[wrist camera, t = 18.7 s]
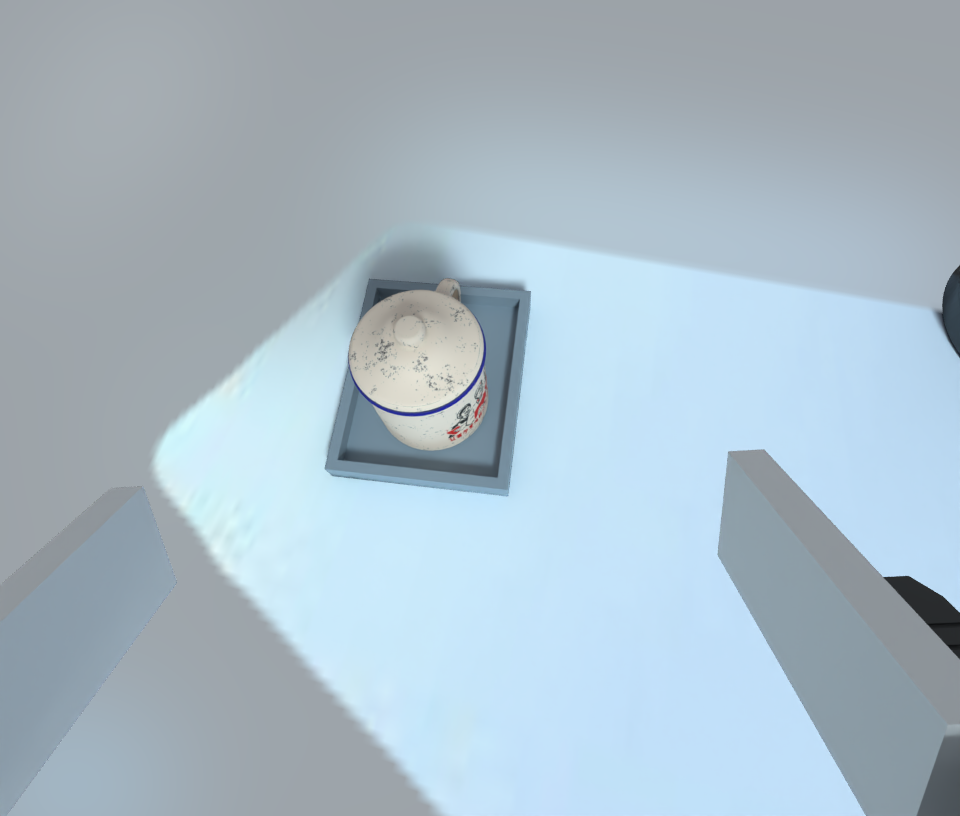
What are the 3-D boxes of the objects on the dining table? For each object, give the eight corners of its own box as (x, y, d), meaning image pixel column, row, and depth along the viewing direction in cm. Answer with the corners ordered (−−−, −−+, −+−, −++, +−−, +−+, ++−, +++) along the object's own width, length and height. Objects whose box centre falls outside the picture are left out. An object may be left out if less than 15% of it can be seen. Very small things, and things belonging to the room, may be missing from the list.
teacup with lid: (474, 467, 44) (459, 412, 33) (361, 439, 45) (311, 377, 34) (513, 330, 48) (511, 241, 37) (408, 308, 49) (377, 216, 38)
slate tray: (530, 304, 49) (530, 291, 47) (508, 496, 43) (507, 489, 42) (374, 291, 51) (369, 278, 49) (332, 475, 45) (324, 469, 43)
